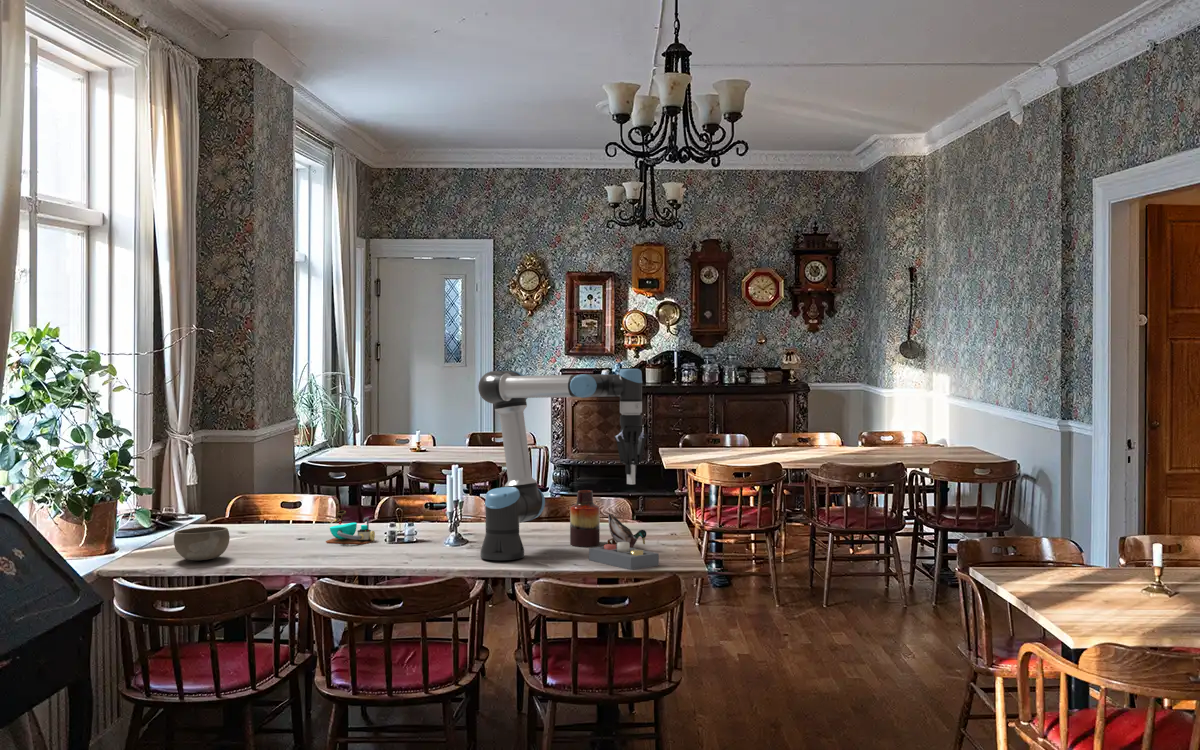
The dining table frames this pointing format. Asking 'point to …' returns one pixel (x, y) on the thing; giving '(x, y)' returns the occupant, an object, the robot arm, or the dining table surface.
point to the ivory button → (623, 547)
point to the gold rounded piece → (636, 552)
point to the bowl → (201, 542)
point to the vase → (584, 521)
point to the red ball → (610, 546)
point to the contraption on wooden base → (351, 533)
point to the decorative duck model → (623, 532)
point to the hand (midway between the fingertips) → (631, 484)
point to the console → (624, 558)
